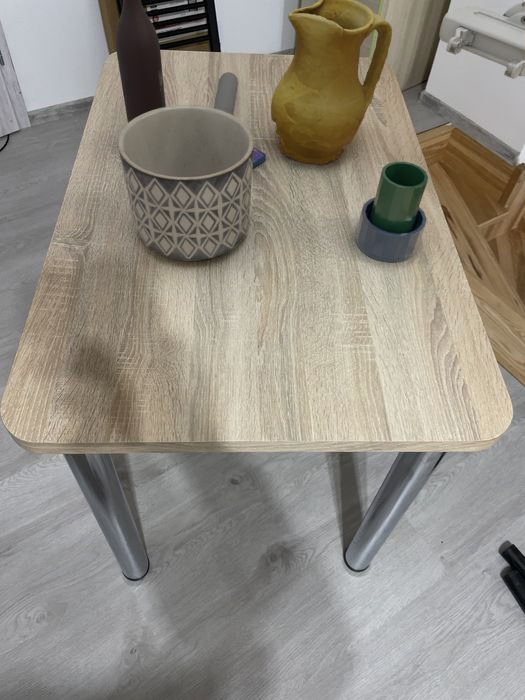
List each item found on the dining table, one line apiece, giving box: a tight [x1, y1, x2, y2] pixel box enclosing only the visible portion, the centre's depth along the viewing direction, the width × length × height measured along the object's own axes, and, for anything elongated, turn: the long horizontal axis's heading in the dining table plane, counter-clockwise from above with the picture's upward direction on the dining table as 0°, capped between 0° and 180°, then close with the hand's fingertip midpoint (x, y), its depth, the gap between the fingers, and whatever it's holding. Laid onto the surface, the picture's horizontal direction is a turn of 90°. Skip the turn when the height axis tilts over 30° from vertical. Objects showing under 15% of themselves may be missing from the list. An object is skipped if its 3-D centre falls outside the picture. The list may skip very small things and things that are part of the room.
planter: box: [117, 104, 255, 262], centre depth 83 cm, size 19×19×16 cm
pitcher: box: [270, 0, 393, 165], centre depth 97 cm, size 17×19×25 cm
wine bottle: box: [114, 0, 167, 124], centre depth 91 cm, size 7×7×30 cm
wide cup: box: [355, 197, 428, 263], centre depth 88 cm, size 10×10×6 cm
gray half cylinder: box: [213, 71, 239, 116], centre depth 115 cm, size 4×20×2 cm, turn 178°
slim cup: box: [369, 160, 429, 234], centre depth 85 cm, size 7×7×12 cm
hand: (480, 59), depth 75 cm, fingers open, 8 cm apart
